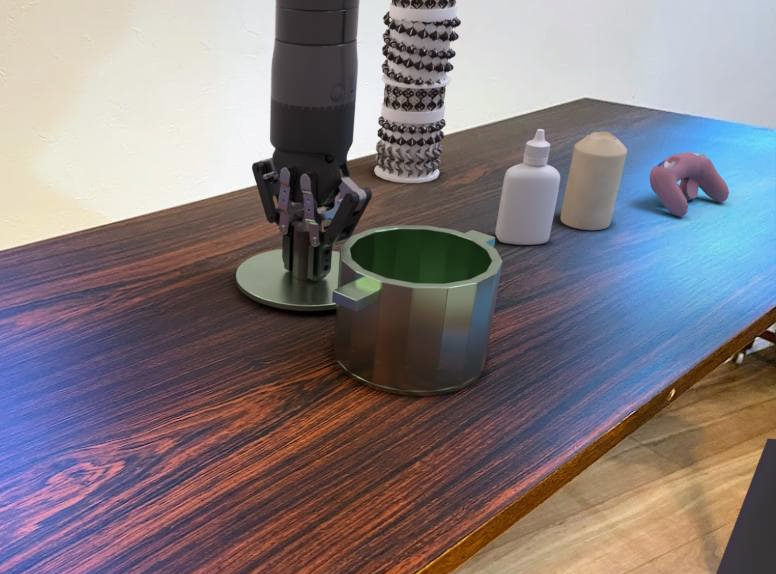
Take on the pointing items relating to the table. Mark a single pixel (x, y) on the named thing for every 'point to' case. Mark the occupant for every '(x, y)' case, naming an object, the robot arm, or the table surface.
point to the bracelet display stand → (415, 88)
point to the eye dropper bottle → (529, 197)
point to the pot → (415, 308)
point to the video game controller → (686, 181)
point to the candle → (593, 181)
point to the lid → (288, 278)
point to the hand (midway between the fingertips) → (305, 272)
